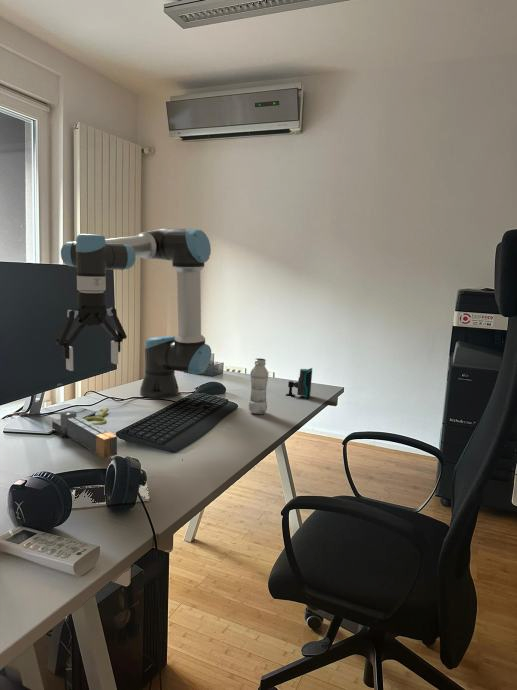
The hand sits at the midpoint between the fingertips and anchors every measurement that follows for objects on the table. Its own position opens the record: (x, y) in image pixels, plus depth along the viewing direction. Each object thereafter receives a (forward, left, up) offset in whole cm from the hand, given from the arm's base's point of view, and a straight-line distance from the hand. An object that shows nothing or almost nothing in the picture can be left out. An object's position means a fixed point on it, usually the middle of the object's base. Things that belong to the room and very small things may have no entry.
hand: (93, 366), depth 135 cm
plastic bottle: (+12, +57, -23) cm, 63 cm away
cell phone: (+32, -14, -23) cm, 41 cm away
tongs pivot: (-11, -4, -22) cm, 25 cm away
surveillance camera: (+7, +87, -23) cm, 91 cm away
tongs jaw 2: (+5, -3, -21) cm, 22 cm away
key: (-17, +11, -23) cm, 31 cm away
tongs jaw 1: (+5, -5, -21) cm, 22 cm away
